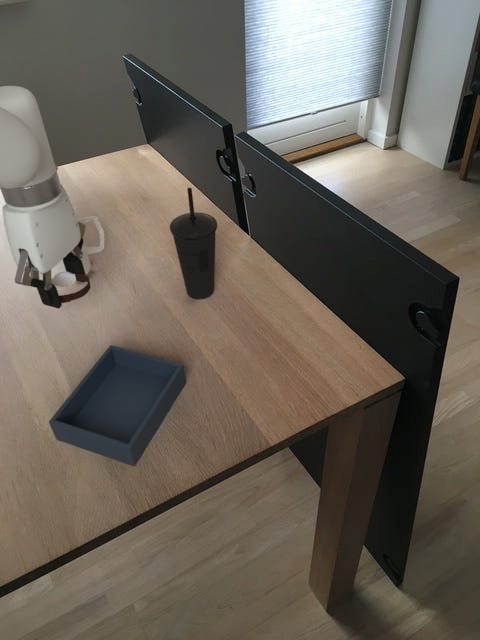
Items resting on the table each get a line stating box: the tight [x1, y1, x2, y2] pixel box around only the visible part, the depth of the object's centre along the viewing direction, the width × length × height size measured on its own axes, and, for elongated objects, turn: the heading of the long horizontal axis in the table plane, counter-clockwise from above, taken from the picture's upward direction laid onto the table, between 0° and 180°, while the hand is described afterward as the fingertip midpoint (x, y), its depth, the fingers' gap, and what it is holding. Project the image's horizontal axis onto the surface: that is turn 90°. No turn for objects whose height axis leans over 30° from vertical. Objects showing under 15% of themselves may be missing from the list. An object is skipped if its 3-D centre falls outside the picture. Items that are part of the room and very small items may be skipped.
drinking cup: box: [169, 187, 218, 300], centre depth 89 cm, size 8×8×20 cm
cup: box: [51, 215, 105, 279], centre depth 99 cm, size 8×12×10 cm
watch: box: [52, 272, 92, 304], centre depth 83 cm, size 8×5×4 cm, turn 107°
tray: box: [48, 344, 187, 467], centre depth 75 cm, size 15×12×4 cm
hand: (65, 291), depth 84 cm, fingers closed on watch, 6 cm apart
